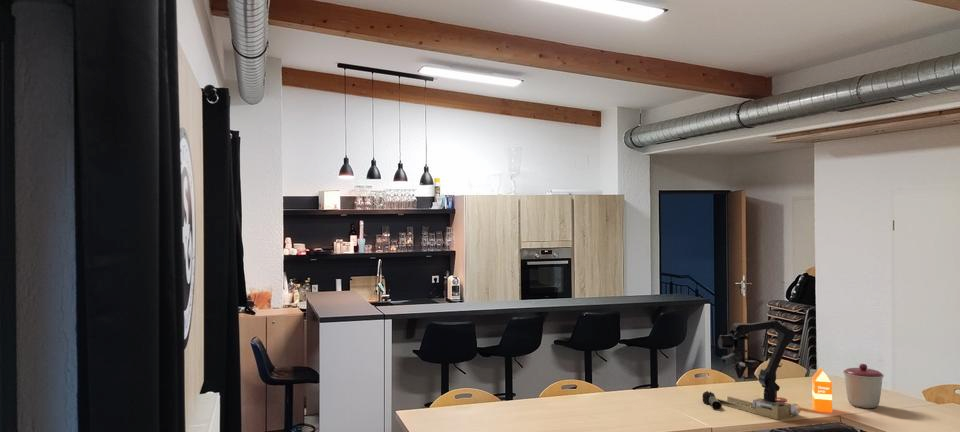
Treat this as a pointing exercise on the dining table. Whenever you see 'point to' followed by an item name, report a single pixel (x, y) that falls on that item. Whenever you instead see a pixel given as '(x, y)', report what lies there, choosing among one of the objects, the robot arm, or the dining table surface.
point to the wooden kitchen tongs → (777, 411)
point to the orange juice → (821, 392)
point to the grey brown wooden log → (711, 400)
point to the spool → (763, 403)
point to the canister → (863, 386)
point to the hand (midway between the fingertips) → (739, 378)
